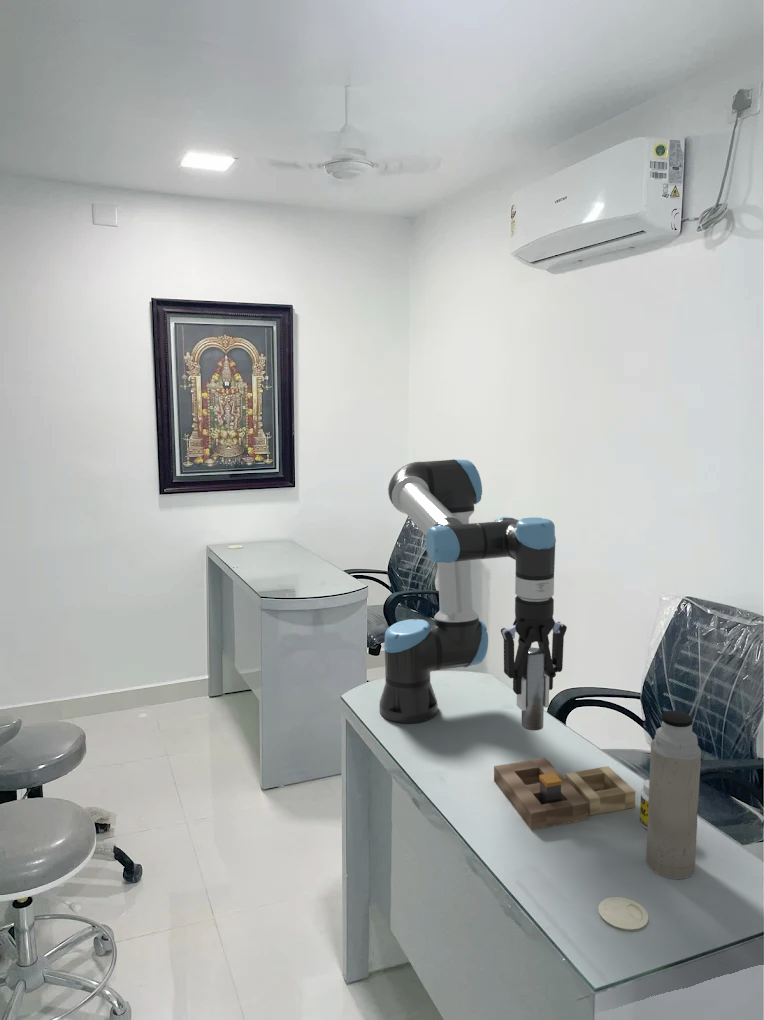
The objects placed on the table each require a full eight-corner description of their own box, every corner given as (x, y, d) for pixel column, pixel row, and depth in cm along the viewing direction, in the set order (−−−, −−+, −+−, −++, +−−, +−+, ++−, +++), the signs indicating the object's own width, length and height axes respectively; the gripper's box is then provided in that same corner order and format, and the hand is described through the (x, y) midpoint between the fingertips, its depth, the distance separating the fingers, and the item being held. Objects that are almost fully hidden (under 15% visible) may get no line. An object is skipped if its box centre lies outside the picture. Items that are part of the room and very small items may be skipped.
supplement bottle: (634, 821, 142) (635, 781, 141) (653, 815, 144) (655, 775, 142) (652, 834, 138) (654, 793, 136) (671, 828, 140) (673, 787, 138)
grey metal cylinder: (517, 722, 152) (518, 649, 149) (537, 719, 153) (538, 646, 150) (527, 731, 148) (528, 656, 145) (547, 728, 149) (548, 654, 146)
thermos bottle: (689, 852, 132) (697, 707, 127) (699, 881, 125) (707, 728, 120) (643, 847, 134) (649, 704, 129) (649, 876, 126) (656, 724, 121)
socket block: (494, 781, 157) (494, 766, 157) (545, 772, 160) (545, 757, 160) (530, 829, 140) (531, 813, 140) (587, 819, 143) (588, 802, 142)
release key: (538, 806, 146) (539, 775, 145) (553, 803, 147) (554, 772, 146) (546, 815, 143) (546, 783, 142) (561, 812, 144) (561, 780, 143)
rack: (565, 788, 154) (565, 773, 153) (607, 781, 156) (608, 766, 155) (589, 815, 144) (590, 799, 144) (634, 807, 147) (635, 791, 146)
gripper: (501, 606, 140) (500, 720, 144) (583, 597, 144) (580, 708, 148) (486, 595, 147) (485, 703, 151) (565, 587, 151) (562, 693, 156)
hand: (532, 705), depth 150 cm, fingers closed on grey metal cylinder, 4 cm apart
